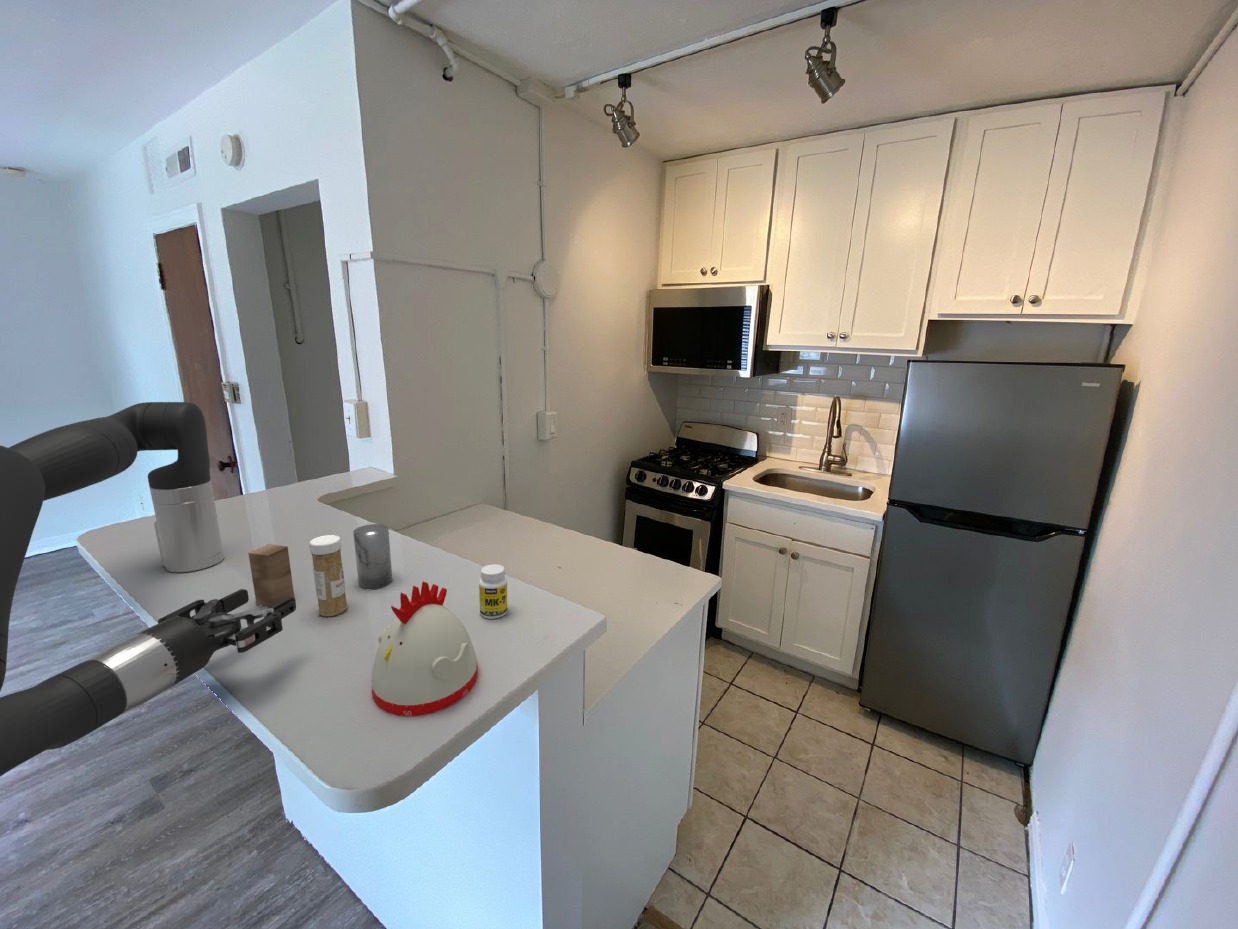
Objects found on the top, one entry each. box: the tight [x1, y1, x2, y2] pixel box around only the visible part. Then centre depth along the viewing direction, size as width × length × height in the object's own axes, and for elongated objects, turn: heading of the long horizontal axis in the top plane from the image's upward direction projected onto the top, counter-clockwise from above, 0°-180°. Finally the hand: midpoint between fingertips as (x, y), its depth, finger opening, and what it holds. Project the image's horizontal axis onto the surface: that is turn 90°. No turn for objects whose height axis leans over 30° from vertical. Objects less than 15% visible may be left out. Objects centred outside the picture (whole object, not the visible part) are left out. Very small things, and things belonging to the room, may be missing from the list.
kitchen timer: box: [371, 580, 479, 717], centre depth 69 cm, size 14×14×15 cm
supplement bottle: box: [478, 564, 508, 620], centre depth 87 cm, size 5×5×8 cm
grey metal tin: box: [352, 523, 393, 590], centre depth 96 cm, size 6×6×11 cm
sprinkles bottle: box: [309, 534, 349, 617], centre depth 85 cm, size 5×5×13 cm
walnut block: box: [248, 543, 295, 608], centre depth 88 cm, size 4×4×10 cm
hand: (269, 598), depth 74 cm, fingers open, 8 cm apart
